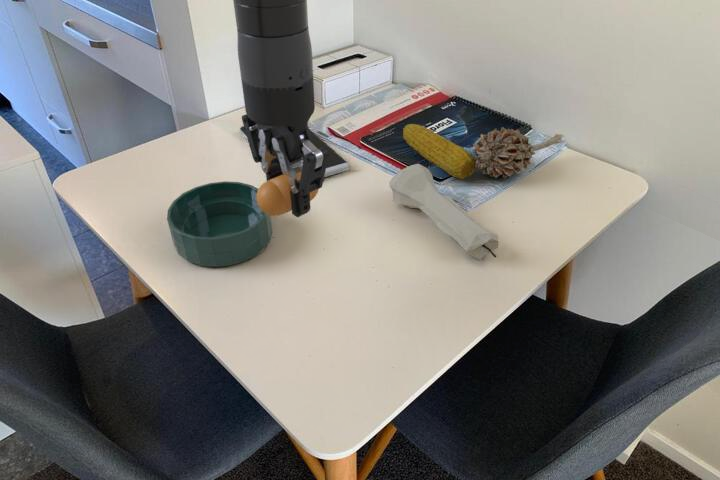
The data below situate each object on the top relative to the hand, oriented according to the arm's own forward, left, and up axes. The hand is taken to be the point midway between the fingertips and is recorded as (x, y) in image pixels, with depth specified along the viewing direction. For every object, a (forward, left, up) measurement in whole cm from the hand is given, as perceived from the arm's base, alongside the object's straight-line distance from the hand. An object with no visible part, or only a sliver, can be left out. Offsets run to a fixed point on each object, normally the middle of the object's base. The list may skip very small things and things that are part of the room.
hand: (289, 204), depth 65 cm
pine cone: (+48, +28, -18) cm, 58 cm away
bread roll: (0, 0, 0) cm, 0 cm away
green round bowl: (-10, +18, -17) cm, 27 cm away
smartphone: (+5, +45, -18) cm, 49 cm away
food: (+33, +35, -18) cm, 51 cm away
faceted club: (+26, +12, -18) cm, 34 cm away
